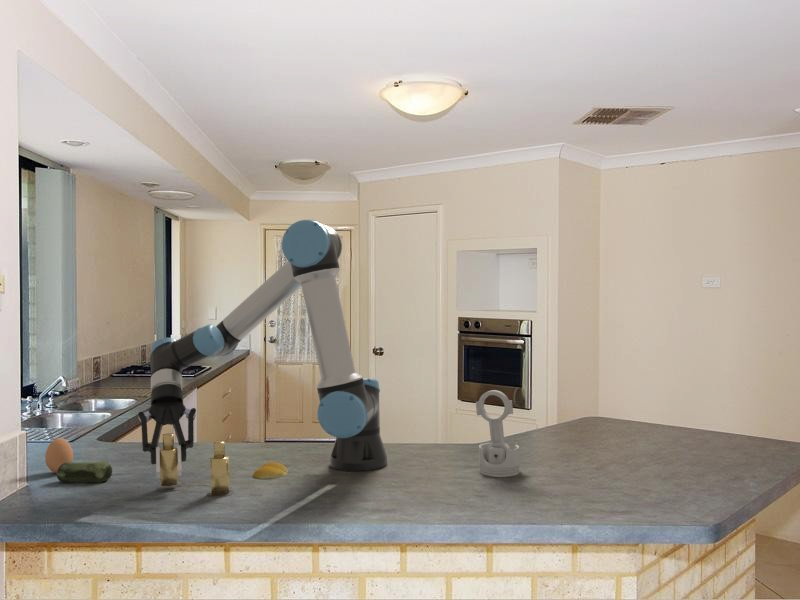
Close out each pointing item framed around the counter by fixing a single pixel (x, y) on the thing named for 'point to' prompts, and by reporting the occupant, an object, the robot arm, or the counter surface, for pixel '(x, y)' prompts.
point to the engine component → (497, 442)
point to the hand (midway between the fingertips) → (169, 473)
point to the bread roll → (270, 471)
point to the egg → (58, 454)
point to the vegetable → (84, 472)
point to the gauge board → (178, 487)
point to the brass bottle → (168, 461)
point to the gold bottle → (219, 470)
